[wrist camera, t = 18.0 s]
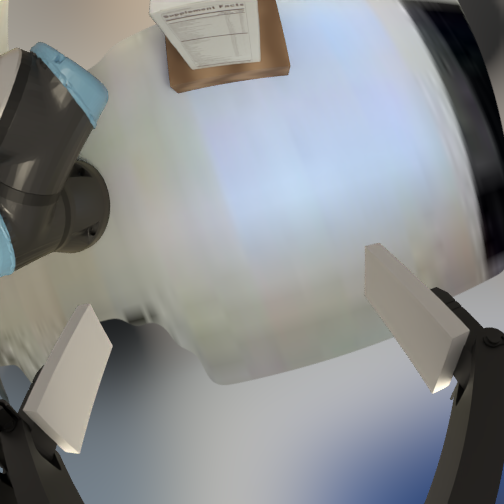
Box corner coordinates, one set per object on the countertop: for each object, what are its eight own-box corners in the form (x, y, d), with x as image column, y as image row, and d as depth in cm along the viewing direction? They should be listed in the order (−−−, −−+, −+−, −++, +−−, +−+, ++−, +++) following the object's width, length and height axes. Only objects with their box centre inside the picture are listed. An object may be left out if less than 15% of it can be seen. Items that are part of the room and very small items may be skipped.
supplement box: (256, 9, 31) (252, -66, 15) (262, 63, 33) (262, -4, 17) (187, 17, 31) (151, -50, 15) (189, 71, 34) (145, 14, 17)
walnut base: (178, 93, 38) (170, 86, 34) (171, 28, 35) (163, 18, 31) (288, 75, 37) (290, 66, 33) (273, 10, 34) (274, -2, 30)
